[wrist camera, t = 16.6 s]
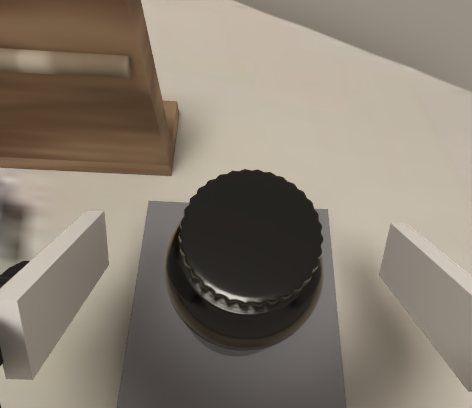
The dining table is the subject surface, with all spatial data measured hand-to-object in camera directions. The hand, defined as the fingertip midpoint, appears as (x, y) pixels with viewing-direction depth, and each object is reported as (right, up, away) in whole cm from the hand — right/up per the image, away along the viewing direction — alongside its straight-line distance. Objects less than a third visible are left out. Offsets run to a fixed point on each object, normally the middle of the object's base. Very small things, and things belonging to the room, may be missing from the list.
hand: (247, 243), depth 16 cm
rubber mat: (-1, -4, +7) cm, 8 cm away
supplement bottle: (-1, -4, +6) cm, 8 cm away
